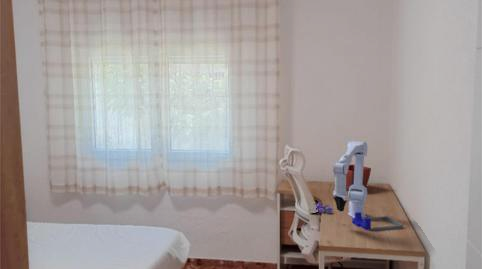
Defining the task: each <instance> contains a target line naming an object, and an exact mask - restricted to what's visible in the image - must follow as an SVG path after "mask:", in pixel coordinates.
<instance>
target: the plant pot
mask: <svg viewBox="0 0 482 269" xmlns="http://www.w3.org/2000/svg"><path fill="white" fill-rule="evenodd" d="M354 170H355V164H350V165H349V169H348V172H347V174H346V192H349V187H350V186H352V185H353V184H354ZM371 171H372V167H368V166H363V181H362V185H363V186H364V187H366V188H367V186H368V183H369V179H370V175H371ZM354 190H358V189H354Z"/></svg>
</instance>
